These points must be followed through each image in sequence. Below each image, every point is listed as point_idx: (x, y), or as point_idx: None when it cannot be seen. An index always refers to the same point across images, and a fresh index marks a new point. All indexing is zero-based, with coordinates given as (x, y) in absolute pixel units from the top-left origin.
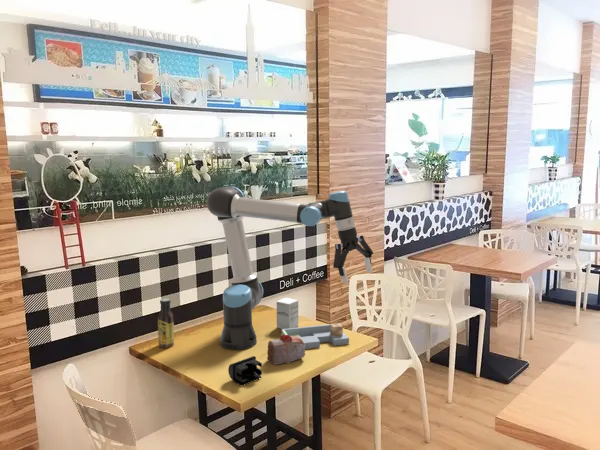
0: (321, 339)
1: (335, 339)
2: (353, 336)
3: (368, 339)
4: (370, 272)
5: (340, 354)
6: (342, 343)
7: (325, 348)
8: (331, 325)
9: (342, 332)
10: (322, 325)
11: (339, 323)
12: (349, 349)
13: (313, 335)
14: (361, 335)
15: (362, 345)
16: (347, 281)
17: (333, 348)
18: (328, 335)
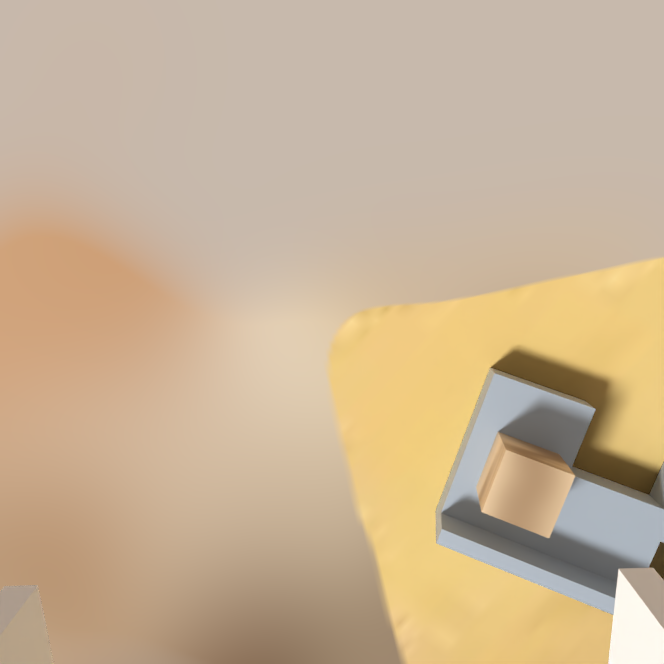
0: (625, 490)
1: (584, 407)
2: (390, 437)
3: (347, 350)
4: (38, 608)
5: (642, 273)
6: (532, 382)
7: (659, 397)
8: (555, 518)
9: (501, 437)
10: (569, 588)
11: (487, 506)
12: (544, 301)
13: (650, 555)
14: (341, 420)
15: (437, 303)
16: (651, 588)
17: (617, 368)
18: (577, 485)
